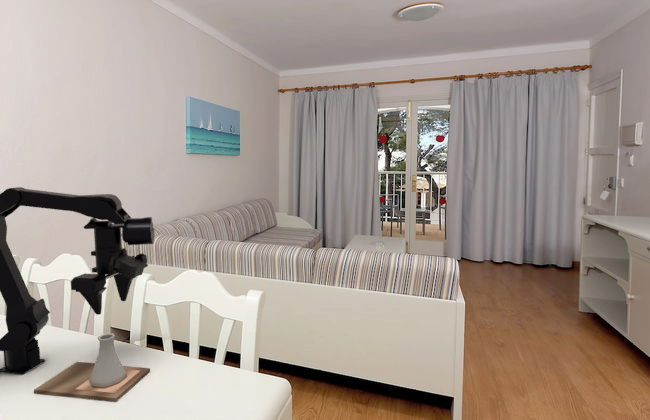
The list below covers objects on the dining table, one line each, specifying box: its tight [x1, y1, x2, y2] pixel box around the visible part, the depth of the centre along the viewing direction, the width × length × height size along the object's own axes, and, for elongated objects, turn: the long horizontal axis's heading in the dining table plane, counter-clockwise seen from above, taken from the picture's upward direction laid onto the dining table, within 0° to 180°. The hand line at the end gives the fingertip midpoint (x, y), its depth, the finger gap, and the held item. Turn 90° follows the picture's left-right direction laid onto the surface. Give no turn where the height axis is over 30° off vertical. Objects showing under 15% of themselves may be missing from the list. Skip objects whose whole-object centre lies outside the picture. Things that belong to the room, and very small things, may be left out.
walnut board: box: [33, 361, 151, 403], centre depth 86 cm, size 19×12×1 cm, turn 82°
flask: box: [89, 332, 128, 387], centre depth 85 cm, size 7×7×10 cm
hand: (111, 307), depth 96 cm, fingers open, 9 cm apart
